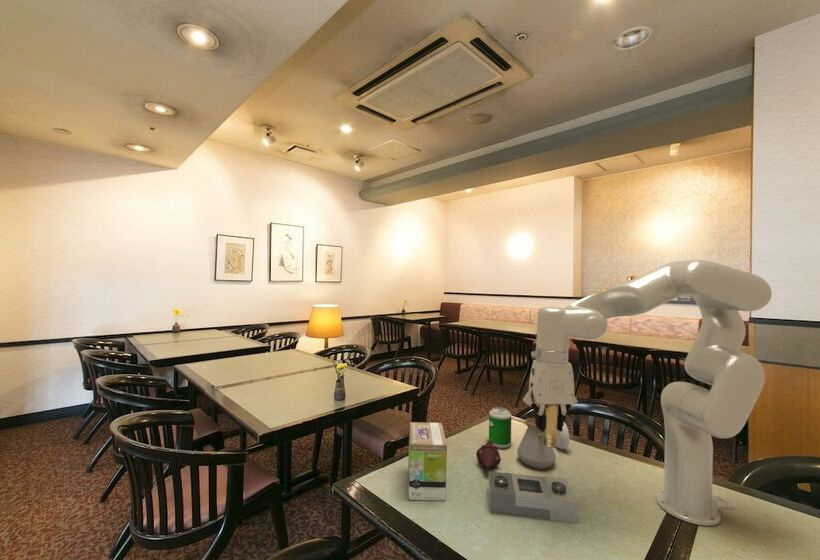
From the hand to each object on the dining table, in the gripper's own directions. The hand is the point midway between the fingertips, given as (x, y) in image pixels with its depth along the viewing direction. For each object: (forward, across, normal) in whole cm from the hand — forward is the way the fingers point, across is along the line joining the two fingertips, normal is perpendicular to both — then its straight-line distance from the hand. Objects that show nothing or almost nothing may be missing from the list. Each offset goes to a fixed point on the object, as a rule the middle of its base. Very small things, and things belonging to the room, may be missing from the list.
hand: (549, 428), depth 89 cm
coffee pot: (+20, +7, +17) cm, 28 cm away
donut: (+20, +21, +31) cm, 42 cm away
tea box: (+21, -28, +13) cm, 38 cm away
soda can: (+20, +1, +35) cm, 40 cm away
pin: (+4, 0, 0) cm, 4 cm away
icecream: (+21, -8, +21) cm, 30 cm away
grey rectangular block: (+20, -4, +2) cm, 21 cm away
